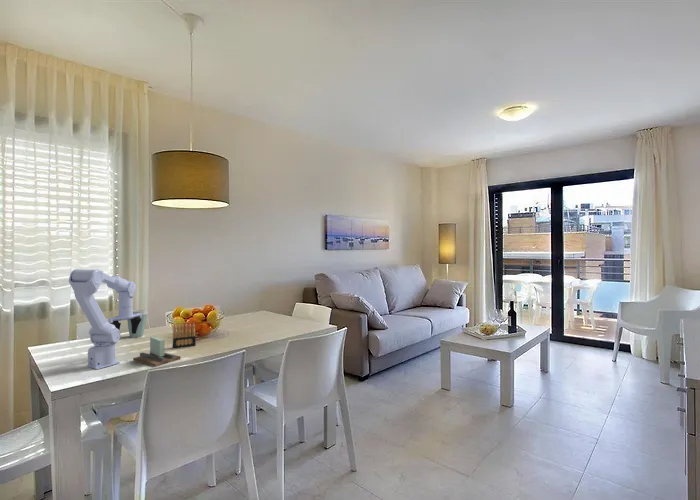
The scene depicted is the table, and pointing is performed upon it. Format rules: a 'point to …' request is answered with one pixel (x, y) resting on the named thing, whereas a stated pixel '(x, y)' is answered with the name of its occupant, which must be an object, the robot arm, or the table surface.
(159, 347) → the grey-green rectangular block
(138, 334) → the disposable coffee cup
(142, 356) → the track base
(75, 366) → the table surface
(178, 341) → the ammunition clip
